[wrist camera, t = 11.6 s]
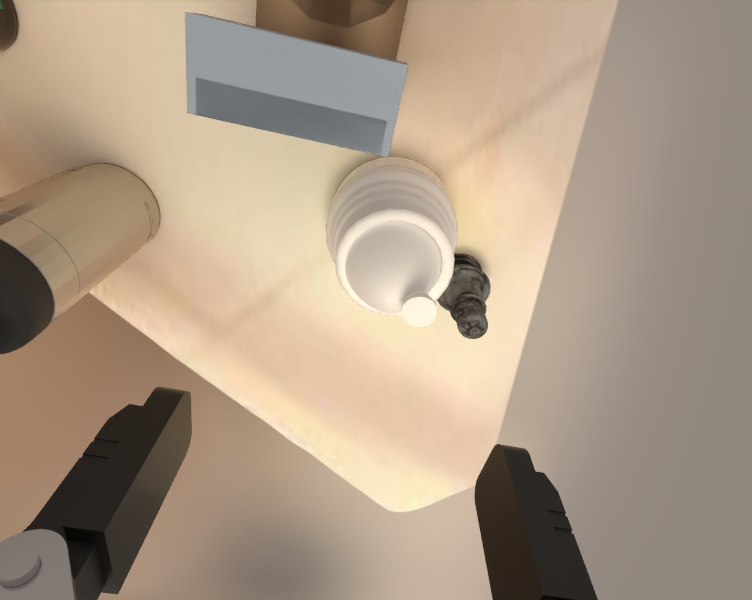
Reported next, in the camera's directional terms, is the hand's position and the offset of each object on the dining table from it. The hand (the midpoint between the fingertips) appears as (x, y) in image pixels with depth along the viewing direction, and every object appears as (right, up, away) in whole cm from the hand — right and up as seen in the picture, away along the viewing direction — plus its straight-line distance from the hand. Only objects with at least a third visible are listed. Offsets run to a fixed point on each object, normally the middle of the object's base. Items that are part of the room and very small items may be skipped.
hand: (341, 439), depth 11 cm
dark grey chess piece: (+10, +7, +38) cm, 40 cm away
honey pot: (+3, +13, +35) cm, 37 cm away
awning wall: (-3, +24, +28) cm, 37 cm away
